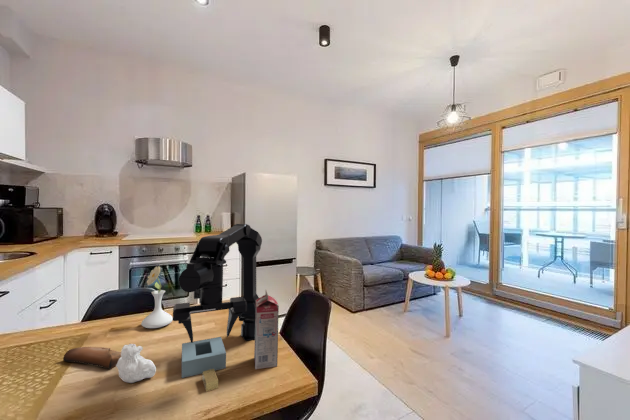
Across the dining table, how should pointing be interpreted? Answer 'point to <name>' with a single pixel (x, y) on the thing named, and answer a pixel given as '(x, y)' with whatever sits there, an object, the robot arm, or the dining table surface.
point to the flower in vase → (156, 305)
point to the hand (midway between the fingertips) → (210, 339)
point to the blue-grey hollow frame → (203, 356)
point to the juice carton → (266, 332)
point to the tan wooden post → (210, 380)
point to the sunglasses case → (93, 356)
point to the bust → (134, 365)
